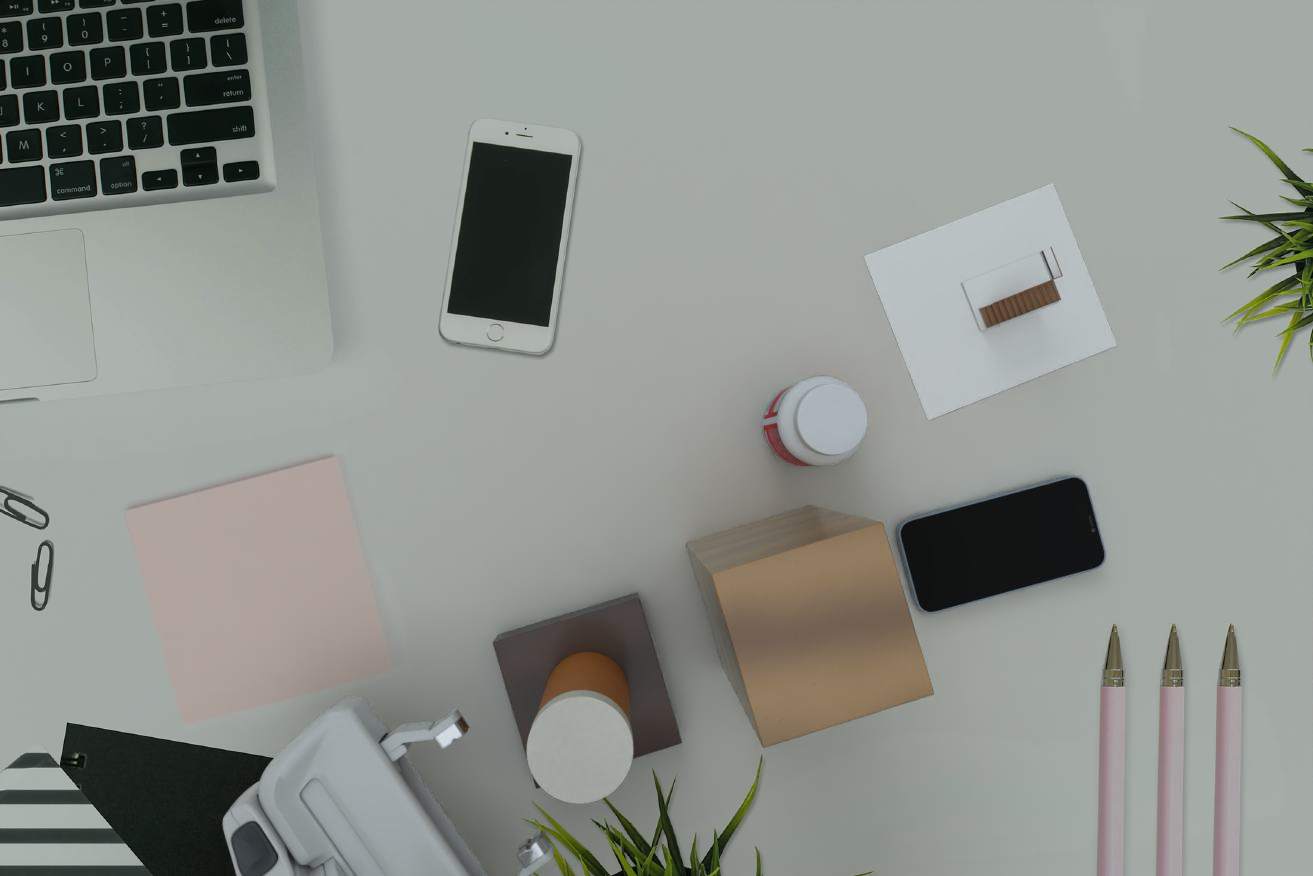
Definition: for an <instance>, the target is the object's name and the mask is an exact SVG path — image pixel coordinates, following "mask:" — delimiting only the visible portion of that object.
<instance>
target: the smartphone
mask: <svg viewBox="0 0 1313 876" xmlns="http://www.w3.org/2000/svg"><path fill="white" fill-rule="evenodd" d="M895 533H896V534H895V535H896V539H897V543H898V547H899V551H900V554H901V559H902V562H903V566H904V570H905V573H906V577H907V580H908V585H909V589H910V592H911V596H912V599H913V602H914V605H915V606H916V607H917V609H919V610H920V611H922V612H924V613H926V614H930V615H931V614H937V613H941V612H945V611H948V610H951V609H955V608H956V609H957V608H959V607H963V606H967V605H970V604H973V603H977V602H982V601H985V600H989V599H992V598H996V597H1000V596H1004V595H1007V594H1011V593H1015V592H1018V591H1022V590H1025V589H1029V588H1032V587H1036V586H1040V585H1043V584H1047V583H1051V582H1054V581H1059V580H1063V579H1065V578H1070V577H1073V576H1076V575H1081V574H1085V573H1088V572H1092V571H1095V570H1098V569H1100V568H1101V567H1102V566H1103V565H1104V564H1105V562H1106V559H1107V552H1106V551H1107V550H1106V546H1105V543H1104V540H1103V536H1102V533H1101V527H1100V526H1099V522H1098V517H1097V514H1096V511H1095V507H1094V503H1093V500H1092V496H1091V492H1090V489H1089V486H1088V483H1087V482H1086V480H1085V479H1083V478H1082V477H1081V476H1078V475H1065V476H1062V477H1058V478H1054V479H1050V480H1046V481H1042V482H1038V483H1035V484H1032V485H1031V484H1030V485H1028V486H1024V487H1020V488H1016V489H1013V490H1008V491H1006V492H1001V493H998V494H994V495H991V496H990V495H989V496H987V497H982V498H979V499H975V500H972V501H969V502H965V503H960V504H957V505H954V506H950V507H945V508H942V509H938V510H934V511H931V512H926V513H923V514H919V515H916V516H912V517H908V518H906V519H903V520H902V521H901V522H899V524H898V526H897V528H896V532H895Z"/></svg>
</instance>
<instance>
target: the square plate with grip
mask: <svg viewBox="0 0 1313 876" xmlns="http://www.w3.org/2000/svg"><path fill="white" fill-rule="evenodd" d="M1063 207H1064V206H1063V204H1062V202H1061V200H1060V196H1059V194H1058V192H1057V190H1056V187H1055V185H1054V182H1051V183H1049V184H1047V185H1044V186H1041V187H1039V188H1037V189H1034V190H1031V191H1028V192H1026V193H1023V194H1021V195H1018V196H1015V197H1013V198H1010V199H1008V200H1004V201H1002V202H999V203H998V204H995V205H992V206H990V207H987V208H984V209H982V210H979V211H976V212H974V213H971V214H969V215H967V216H964V217H962V218H958V219H956V220H954V221H951V222H948V223H945V224H943V225H940V226H938V227H936V228H933V229H930V230H928V231H925V232H923V233H920V234H917V235H915V236H912V237H910V238H907V239H905V240H902V241H900V242H896V243H894V244H891V245H889V246H887V247H884V248H881V249H878V250H875V251H874V252H870V253H869V254H866V255H863V259H864V261H865V264H866V266H867V269H868V271H869V274H870V277H871V279H872V282H873V284H874V287H875V289H876V292H877V294H878V297H879V299H880V302H881V305H882V307H883V310H884V312H885V314H886V318H887V319H888V323H889V325H890V327H891V330H892V332H893V335H894V337H895V340H896V343H897V345H898V348H899V350H900V353H901V356H902V357H903V360H904V363H905V365H906V369H907V370H908V373H909V375H910V378H911V381H912V383H913V385H914V388H915V391H916V393H917V396H918V399H919V401H920V403H921V406H922V408H923V410H924V413H925V416H926V419H927V421H931V420H934V419H936V418H938V417H940V416H943V415H946V414H948V413H950V412H952V411H956V410H958V409H960V408H963V407H966V406H968V405H971V404H973V403H976V402H978V401H980V400H984V399H986V398H988V397H992V396H993V395H996V394H998V393H1002V392H1004V391H1007V390H1008V389H1012V388H1013V387H1016V386H1019V385H1021V384H1024V383H1026V382H1029V381H1031V380H1035V379H1036V378H1039V377H1042V376H1043V375H1047V374H1048V373H1052V372H1054V371H1056V370H1059V369H1061V368H1064V367H1066V366H1069V365H1071V364H1075V363H1077V362H1079V361H1082V360H1084V359H1087V358H1090V357H1092V356H1094V355H1097V354H1099V353H1102V352H1104V351H1107V350H1109V349H1112V348H1114V347H1117V346H1118V343H1117V341H1116V338H1115V335H1114V334H1113V330H1112V328H1111V326H1110V323H1109V321H1108V318H1107V316H1106V313H1105V310H1104V308H1103V306H1102V303H1101V300H1100V298H1099V295H1098V292H1097V290H1096V288H1095V286H1094V283H1093V280H1092V278H1091V275H1090V272H1089V270H1088V268H1087V265H1086V262H1085V260H1084V258H1083V255H1082V252H1081V249H1080V248H1079V245H1078V242H1077V239H1076V237H1075V234H1074V232H1073V229H1072V228H1071V227H1072V226H1071V225H1070V222H1069V220H1068V217H1067V214H1066V212H1065V209H1064V208H1063Z"/></svg>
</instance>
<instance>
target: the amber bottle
mask: <svg viewBox="0 0 1313 876" xmlns="http://www.w3.org/2000/svg"><path fill="white" fill-rule="evenodd" d="M633 749H634V747H633V734H632V729H631V721H630V700H629V686H628V682H627V679H626V676H625V674H624V672H623V671H622V669H621V668H620V667H619V665H618V664H617V663H616V662H614V661H613V660H612V659H610V658H609V657H607V656H605V655H603V654H600V653H595V652H580V653H576V654H573V655H571V656H569V657H567V658H565V659H564V660H562V661H561V662H560V663H559V664H558V665H557V666H556V667H555V668H554V670H553V671H552V673H551V675H550V677H549V679H548V682H547V685H546V688H545V692H544V695H543V698H542V701H541V704H540V707H539V711H538V714H537V716H536V718H535V720H534V722H533V724H532V727H531V730H530V733H529V736H528V741H527V757H526V761H527V765H528V767H529V768H528V769H529V771H530V774H531V773H532V774H531V776H532V775H533V777H534V779H535V780H536V782H537V783H538V785H539V786H540V787H541V789H542V790H543V791H544V792H545V793H547V794H548V795H549V796H551V797H553V798H554V799H557V800H559V801H560V802H564V803H567V804H575V805H578V804H579V805H584V804H590V803H595V802H597V801H600V800H602V799H604V798H606V797H608V796H610V795H611V794H612V793H613V792H615V791H616V790H617V789H618V788H619V787H621V786H620V785H622V783H623V782H624V781H625V779H626V777H627V775H628V774H629V772H630V770H631V767H632V764H633V760H634V759H633ZM533 777H532V778H533Z"/></svg>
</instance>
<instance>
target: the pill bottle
mask: <svg viewBox="0 0 1313 876" xmlns="http://www.w3.org/2000/svg"><path fill="white" fill-rule="evenodd" d="M761 419H762V421H761V432H762V437H763V439H764V442H765V444H766V447H767V448H768V450H769V451H770V452H771V454H773V455H774V456H775V457H776V458H777V459H779V460H780V461H782V462H784V463H785V464H788V465H790V466H791V465H792V466H796V467H828V466H829V467H830V466H833V465H836V464H840V463H842V462H844V461H845V460H848V459H849V458H850V457H852V455H854V454H855V453H856V452H857V450H858V449H859V448H860V446H861V445H862V443H863V441H864V438H865V436H866V432H867V429H868V424H869V418H868V411H867V407H866V405H865V403H864V401H863V400H862V398H861V397H860V395H859V394H858V392H857V391H856V390H855V389H854V388H853V387H852V386H851V385H850V384H848V383H847V382H846V381H843V380H840V379H838V378H836V377H833V376H827V375H826V376H825V375H821V376H812V377H808V378H805V379H803V380H801V381H799V382H797V383H795V384H792V385H790V386H788V387H786V388H784V389H782V390H781V391H779V392H778V393H777V394H775V395H774V396H773V397H772V398H771V399H770V400H769V402H768V403H767V405H766V407H765V409H764V412H763V414H762V418H761Z"/></svg>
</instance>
